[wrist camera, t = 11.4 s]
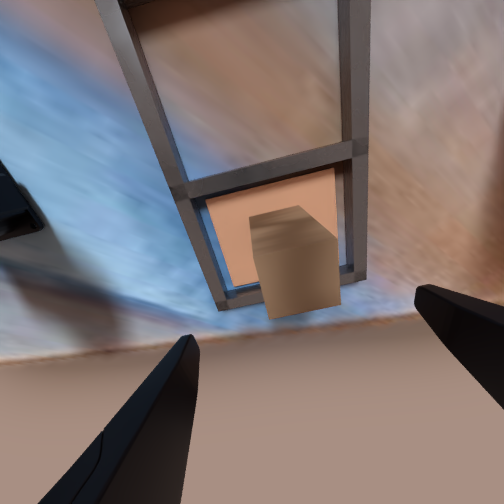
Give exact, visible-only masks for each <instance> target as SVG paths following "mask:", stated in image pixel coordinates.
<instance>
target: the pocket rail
mask: <svg viewBox="0 0 504 504" xmlns="http://www.w3.org/2000/svg"><path fill="white" fill-rule="evenodd" d="M94 1H95V3H96V6H97V8H98V11H99V13H100V16H101V18H102V21H103V23H104V26H105V28H106V31H107V33H108V36H109V38H110V41H111V43H112V46H113V48H114V51H115V53H116V56H117V58H118V61H119V63H120V66H121V68H122V71H123V73H124V76H125V78H126V81H127V83H128V86H129V88H130V91H131V93H132V96H133V98H134V101H135V103H136V106H137V108H138V111H139V113H140V116H141V118H142V121H143V123H144V126H145V128H146V131H147V133H148V136H149V138H150V141H151V143H152V146H153V149H154V151H155V154H156V156H157V159H158V161H159V164H160V166H161V169H162V171H163V174H164V176H165V179H166V181H167V184H168V186H169V189H170V191H171V194H172V196H173V199H174V201H175V204H176V206H177V209H178V211H179V214H180V216H181V219H182V221H183V224H184V226H185V229H186V231H187V234H188V236H189V239H190V241H191V244H192V246H193V249H194V251H195V254H196V256H197V259H198V261H199V264H200V266H201V269H202V271H203V274H204V276H205V279H206V281H207V284H208V286H209V289H210V291H211V294H212V296H213V299H214V301H215V304H216V306H217V309H218V311H223V310H228V309H232V308H237V307H242V306H246V305H251V304H256V303H260V302H265V301H264V298H263V294H262V290H261V286H260V284H257V285H253V286H248V287H243V288H239V289H234V290H230V291H227V289H226V286H225V283H224V280H223V277H222V274H221V272H220V269H219V266H218V263H217V260H216V257H215V255H214V252H213V249H212V246H211V243H210V240H209V238H208V235H207V232H206V229H205V226H204V223H203V221H202V218H201V215H200V212H199V209H198V206H197V204H196V201H195V197H199V196H203V195H207V194H211V193H215V192H219V191H223V190H227V189H231V188H235V187H238V186H242V185H246V184H250V183H254V182H258V181H262V180H266V179H270V178H274V177H278V176H282V175H286V174H290V173H294V172H298V171H302V170H306V169H310V168H314V167H318V166H322V165H326V164H330V163H334V162H338V161H342V160H343V166H344V196H345V226H346V256H347V265H343V266H339V277H340V285H344V284H348V283H353V282H358V281H362V280H366V271H367V208H368V144H369V80H370V17H371V0H338V17H339V47H340V77H341V107H342V136H343V141H342V142H339V143H335V144H331V145H327V146H323V147H319V148H315V149H311V150H308V151H304V152H300V153H296V154H292V155H288V156H284V157H280V158H276V159H273V160H269V161H265V162H261V163H257V164H253V165H249V166H245V167H242V168H238V169H234V170H230V171H226V172H222V173H218V174H214V175H210V176H207V177H203V178H199V179H195V180H191V181H188V178H187V175H186V173H185V170H184V167H183V164H182V161H181V158H180V156H179V153H178V150H177V147H176V144H175V141H174V139H173V136H172V133H171V130H170V127H169V124H168V122H167V119H166V116H165V113H164V110H163V107H162V105H161V102H160V99H159V96H158V93H157V90H156V88H155V85H154V82H153V79H152V76H151V73H150V71H149V68H148V65H147V62H146V59H145V57H144V54H143V51H142V48H141V45H140V42H139V40H138V37H137V34H136V31H135V28H134V25H133V23H132V20H131V17H130V14H129V11H128V9H129V8H132V7H135V6H138V5H141V4H144V3H148V2H151V1H154V0H94ZM205 201H206V204H207V207H208V210H209V213H210V216H211V219H212V222H213V225H214V228H215V231H216V234H217V237H218V240H219V243H220V246H221V249H222V252H223V255H224V258H225V261H226V264H227V267H228V270H229V273H230V276H231V279H232V282H233V285H234V287H235V286H240V285H244V284H249V283H253V282H258V281H259V278H258V274H257V271H256V267H255V263H254V259H253V251H252V242H251V233H250V224H249V217H251V216H255V215H259V214H263V213H267V212H272V211H276V210H280V209H284V208H288V207H292V206H297V205H299V206H300V207H302V208H303V209H304V210H305V211H306V212H307V213H309V214H310V215H311V216H312V217H313V218H314V219H316V220H317V221H318V222H319V223H320V224H321V225H322V226H324V227H325V228H326V229H327V230H328V231H329V232H331V233H332V234H333V235H334V236H335V237H336V238H338V232H337V213H336V194H335V175H334V168H329V169H325V170H321V171H317V172H313V173H309V174H305V175H301V176H297V177H293V178H289V179H285V180H281V181H277V182H273V183H269V184H265V185H261V186H257V187H253V188H249V189H245V190H241V191H237V192H233V193H229V194H225V195H221V196H217V197H213V198H209V199H206V200H205ZM338 257H339V251H338Z"/></svg>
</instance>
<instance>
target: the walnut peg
mask: <svg viewBox="0 0 504 504" xmlns="http://www.w3.org/2000/svg"><path fill="white" fill-rule="evenodd" d="M249 224H250V233H251V242H252V251H253V259H254V263H255V267H256V271H257V274H258V278H259V282H260V286H261V290H262V294H263V298H264V301H265V305H266V309H267V313H268V317H269V320H270V319H275V318H280V317H284V316H289V315H294V314H299V313H304V312H308V311H313V310H318V309H323V308H328V307H333V306H337V305H341V297H340V277H339V257H338V238H336V237H335V236H334V235H333V234H332V233H331V232H329V231H328V230H327V229H326V228H325V227H324V226H322V225H321V224H320V223H319V222H318V221H317V220H316V219H314V218H313V217H312V216H311V215H310V214H309V213H307V212H306V211H305V210H304V209H303V208H302V207H300V206H299V205H297V206H292V207H288V208H284V209H280V210H276V211H272V212H267V213H263V214H259V215H255V216H251V217H249Z"/></svg>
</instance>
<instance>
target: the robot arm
mask: <svg viewBox="0 0 504 504" xmlns="http://www.w3.org/2000/svg"><path fill="white" fill-rule="evenodd" d="M34 224H35V225H36V226H35V225H34ZM43 228H44V225H43V223H42V222H41V220H40V219H39V217H38V216H37V215H36V213H35V212H34V211H33V209H32V208H31V206H30V205H29V204H28V202H27V201H26V199H25V198H24V197H23V195H22V194H21V192H20V191H19V190H18V188H17V187H16V185H15V184H14V183H13V181H12V180H11V178H10V177H9V176H8V174H7V173H6V171H5V170H4V169H3V167H2V166H1V164H0V241H2V240H6V239H10V238H14V237H18V236H21V235H25V234H29V233H33V232H37V231H40V230H42V229H43ZM414 305H415V307H416V309H417V311H418V312H419V313H420V314H421V316H422V317H423V318H424V320H425V321H426V322H427V324H428V325H429V326H430V327H431V329H432V330H433V331H434V332H435V334H436V335H437V336H438V338H439V339H440V340H441V341H442V343H443V344H444V345H445V346H446V347H447V349H448V350H449V351H450V352H451V353H452V354H453V355H454V356H455V357H456V358H457V359H458V361H459V362H460V363H461V364H462V365H463V366H464V367H465V368H466V369H467V370H468V371H469V372H470V374H471V375H472V376H473V377H474V378H475V379H476V380H477V381H478V382H479V383H480V384H481V385H482V387H483V388H484V389H485V390H486V391H487V392H488V393H489V394H490V395H491V396H492V397H493V398H494V400H495V401H496V402H497V403H498V404H499V405H500V406H501V407H502V408H503V409H504V306H500V305H497V304H494V303H491V302H487V301H484V300H481V299H477V298H474V297H471V296H468V295H464V294H461V293H458V292H454V291H451V290H448V289H445V288H441V287H438V286H435V285H431V284H426V285H422V286H418V287H417V288H416V293H415V300H414ZM199 361H200V349H199V346H198V344H197V342H196V340H195V338H194V336H193V335H192V334H189V335H184V336H182V337H180V339H179V340H178V341H177V342H176V343H175V345H174V346H173V347H172V348H171V349H170V350H169V352H168V353H167V354H166V355H165V356H164V358H163V359H162V360H161V361H160V362H159V364H158V365H157V366H156V367H155V368H154V370H153V371H152V372H151V373H150V374H149V375H148V377H147V378H146V379H145V380H144V382H143V383H142V384H141V385H140V386H139V387H138V389H137V390H136V391H135V392H134V393H133V395H132V396H131V397H130V398H129V399H128V401H127V402H126V403H125V404H124V405H123V407H122V408H121V409H120V410H119V411H118V412H117V414H116V415H115V416H114V417H113V418H112V419H111V421H110V422H109V423H108V424H107V426H106V427H105V428H104V430H103V431H102V432H101V433H100V434H99V435H98V436H97V437H96V438H95V440H94V441H93V442H92V443H91V444H90V446H89V447H88V448H87V449H86V450H85V451H84V453H83V454H82V455H81V456H80V457H79V458H78V459H77V461H76V462H75V463H74V464H73V465H72V467H70V469H69V470H68V471H67V472H66V473H65V474H64V475H63V476H62V478H61V479H60V480H59V481H58V482H57V483H56V484H55V485H54V486H53V487H52V489H51V490H50V491H49V492H48V493H47V494H46V495H45V496H44V497H43V498H42V499H41V501H40V502H39V503H38V504H180V503H181V497H182V490H183V484H184V478H185V471H186V465H187V458H188V452H189V445H190V439H191V432H192V426H193V420H194V414H195V407H196V400H197V393H198V378H199Z"/></svg>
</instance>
